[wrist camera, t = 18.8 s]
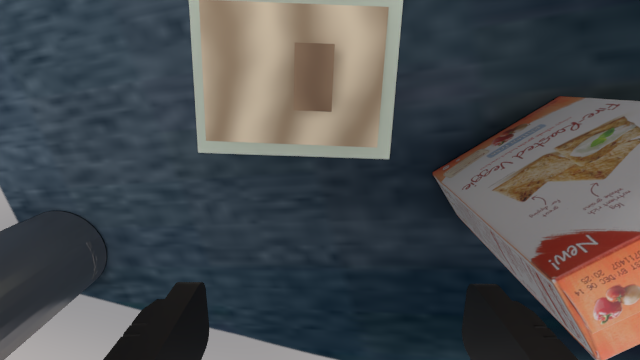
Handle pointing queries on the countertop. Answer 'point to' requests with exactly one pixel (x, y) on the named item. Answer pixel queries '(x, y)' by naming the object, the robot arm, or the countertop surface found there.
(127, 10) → the countertop surface
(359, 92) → the lid
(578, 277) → the cracker box
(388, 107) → the mat
